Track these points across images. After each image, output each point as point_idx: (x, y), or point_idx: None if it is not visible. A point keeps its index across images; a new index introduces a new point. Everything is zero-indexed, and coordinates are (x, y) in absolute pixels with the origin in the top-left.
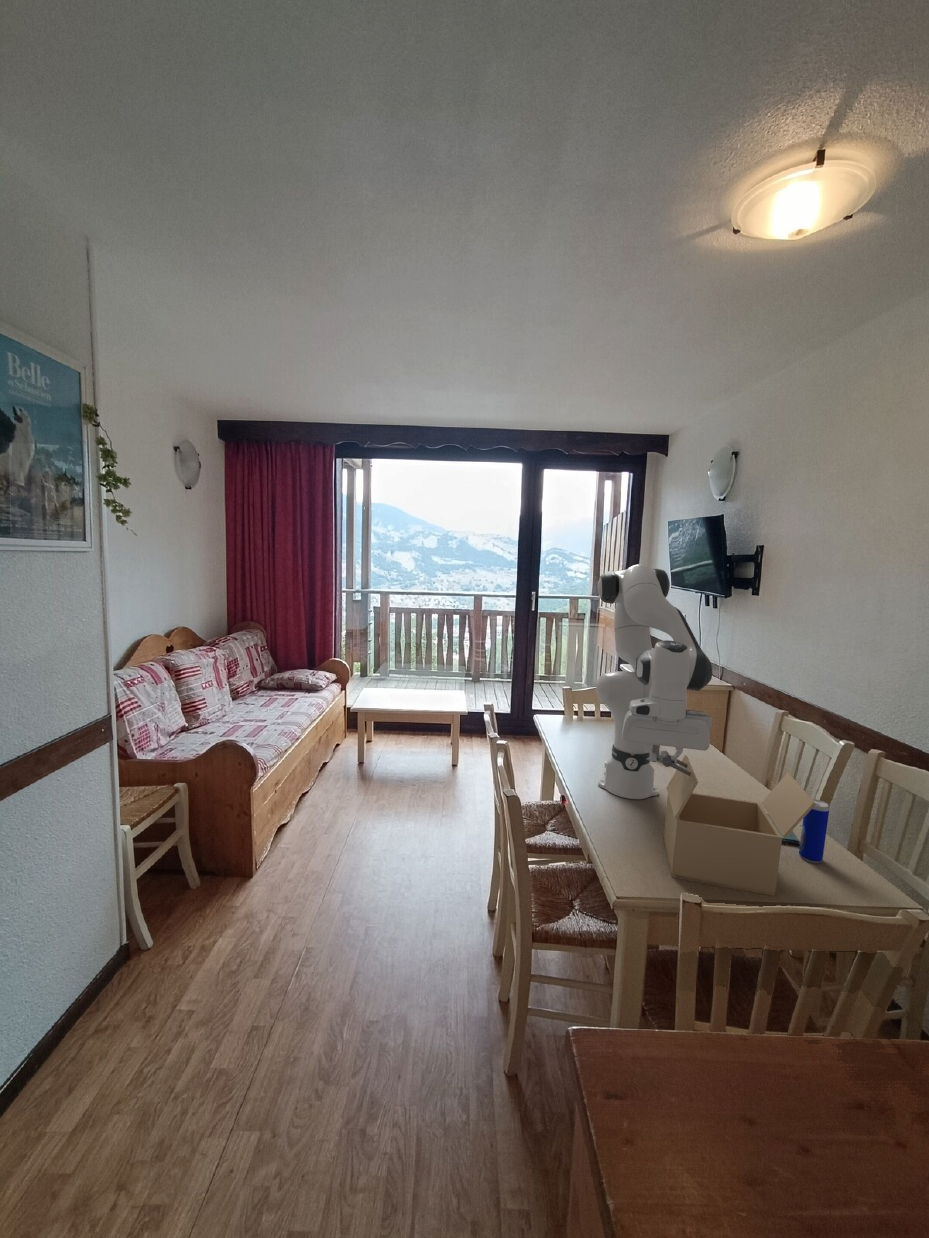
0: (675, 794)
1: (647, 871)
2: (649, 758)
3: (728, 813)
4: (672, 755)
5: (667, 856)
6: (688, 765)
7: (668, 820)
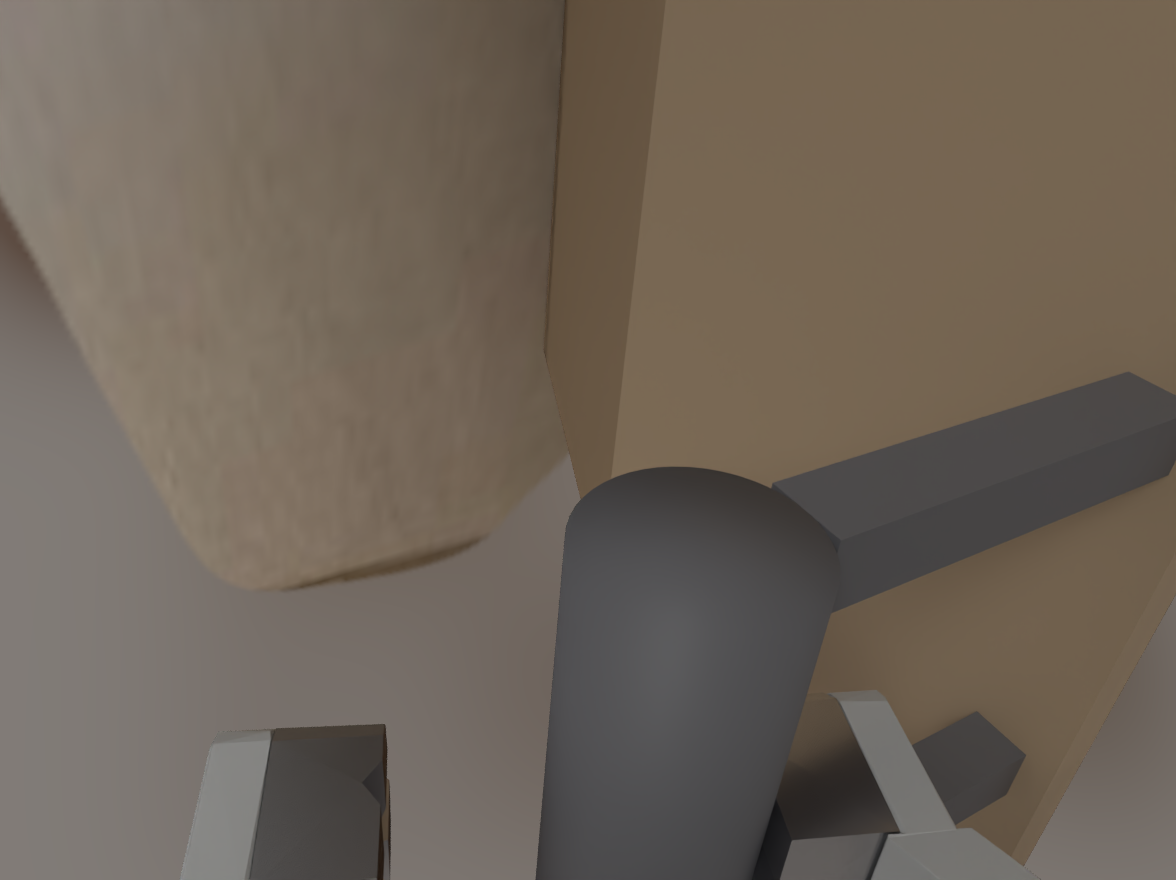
0: (705, 389)
1: (394, 335)
2: (214, 758)
3: None
4: (856, 841)
5: (559, 113)
6: (1163, 519)
7: (615, 21)
